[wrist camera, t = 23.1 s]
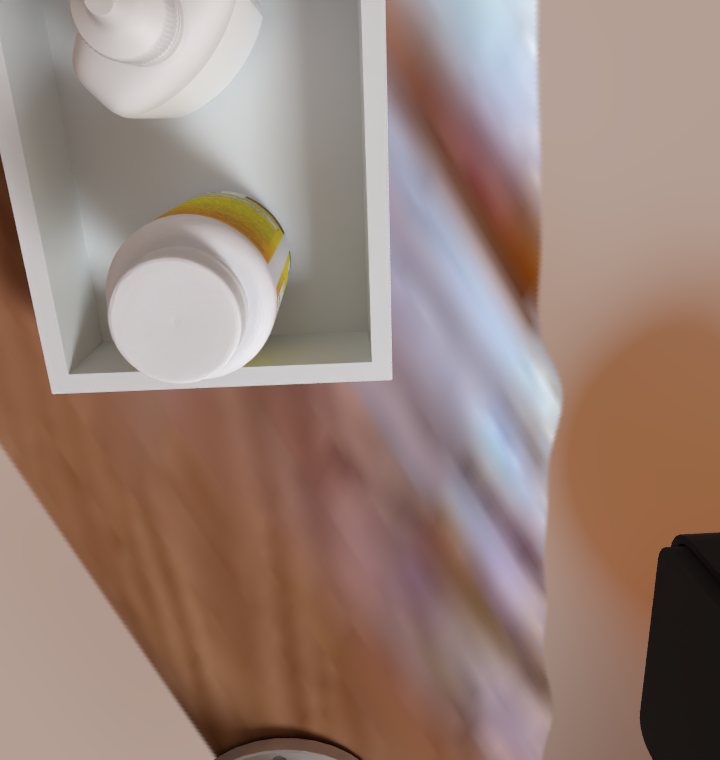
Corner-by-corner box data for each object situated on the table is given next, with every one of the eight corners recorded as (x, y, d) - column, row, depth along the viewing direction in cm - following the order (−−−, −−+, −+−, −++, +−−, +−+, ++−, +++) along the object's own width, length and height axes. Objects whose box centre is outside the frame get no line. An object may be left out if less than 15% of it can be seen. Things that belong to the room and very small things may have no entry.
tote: (384, 341, 32) (392, 380, 27) (94, 353, 32) (52, 394, 27) (374, -105, 26) (382, -153, 21) (11, -92, 25) (-63, -139, 21)
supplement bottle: (147, 201, 29) (51, 243, 19) (277, 178, 28) (245, 210, 19) (181, 326, 31) (109, 422, 21) (303, 306, 30) (285, 393, 21)
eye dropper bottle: (287, 84, 27) (249, 62, 16) (155, 126, 28) (28, 134, 16) (249, -37, 26) (178, -156, 14) (110, 10, 26) (-63, -70, 15)
